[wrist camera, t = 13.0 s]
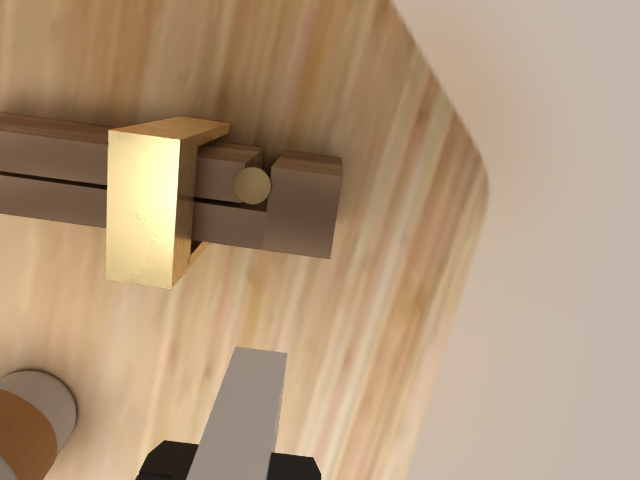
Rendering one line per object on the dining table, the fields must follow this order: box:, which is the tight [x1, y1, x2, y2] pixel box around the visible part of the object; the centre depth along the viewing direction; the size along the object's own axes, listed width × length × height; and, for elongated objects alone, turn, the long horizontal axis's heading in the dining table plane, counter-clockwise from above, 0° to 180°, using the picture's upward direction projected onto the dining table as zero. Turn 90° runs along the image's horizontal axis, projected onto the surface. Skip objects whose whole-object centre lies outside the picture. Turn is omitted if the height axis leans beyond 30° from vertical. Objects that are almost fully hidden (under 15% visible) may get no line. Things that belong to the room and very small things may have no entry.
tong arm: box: [0, 112, 264, 203], centre depth 30 cm, size 2×16×7 cm, turn 83°
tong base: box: [0, 150, 342, 259], centre depth 30 cm, size 4×21×7 cm, turn 82°
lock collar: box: [105, 116, 230, 289], centre depth 28 cm, size 7×3×10 cm, turn 172°
